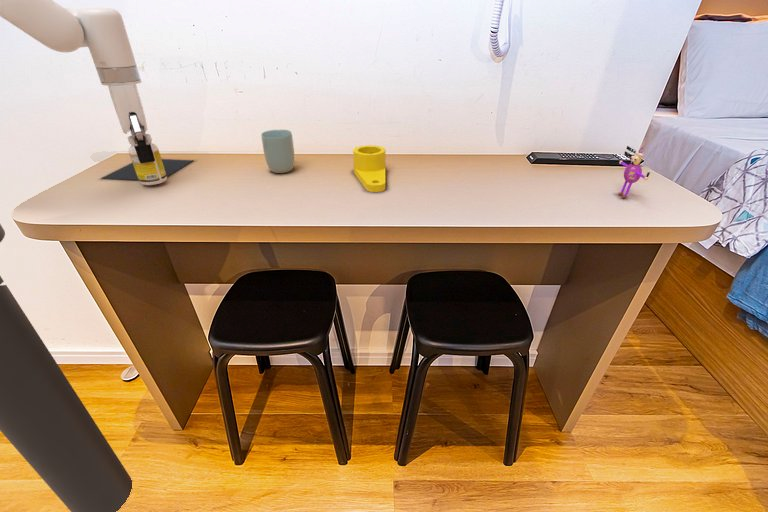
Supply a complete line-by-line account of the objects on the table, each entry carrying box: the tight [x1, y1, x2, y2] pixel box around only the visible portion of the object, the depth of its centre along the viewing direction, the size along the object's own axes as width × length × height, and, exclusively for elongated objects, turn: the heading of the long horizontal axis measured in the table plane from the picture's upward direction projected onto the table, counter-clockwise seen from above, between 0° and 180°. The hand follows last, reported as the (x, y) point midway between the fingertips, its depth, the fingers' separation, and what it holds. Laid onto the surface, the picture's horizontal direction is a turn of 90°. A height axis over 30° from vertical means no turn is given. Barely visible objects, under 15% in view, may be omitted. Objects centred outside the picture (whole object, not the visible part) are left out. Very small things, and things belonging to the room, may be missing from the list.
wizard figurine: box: [617, 145, 651, 199], centre depth 87 cm, size 11×3×12 cm, turn 0°
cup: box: [260, 129, 296, 174], centre depth 101 cm, size 8×8×10 cm
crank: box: [352, 144, 386, 193], centre depth 98 cm, size 18×8×6 cm, turn 9°
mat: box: [100, 158, 194, 182], centre depth 105 cm, size 16×16×1 cm
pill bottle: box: [127, 133, 168, 186], centre depth 92 cm, size 6×6×11 cm
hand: (146, 157), depth 92 cm, fingers closed on pill bottle, 6 cm apart
